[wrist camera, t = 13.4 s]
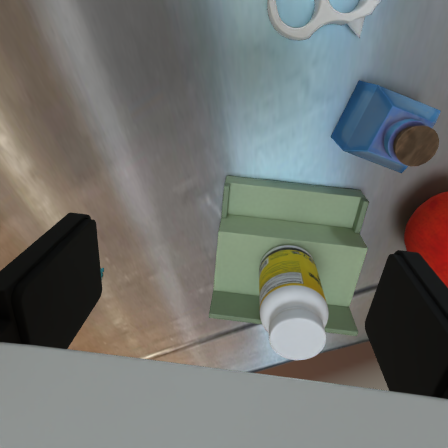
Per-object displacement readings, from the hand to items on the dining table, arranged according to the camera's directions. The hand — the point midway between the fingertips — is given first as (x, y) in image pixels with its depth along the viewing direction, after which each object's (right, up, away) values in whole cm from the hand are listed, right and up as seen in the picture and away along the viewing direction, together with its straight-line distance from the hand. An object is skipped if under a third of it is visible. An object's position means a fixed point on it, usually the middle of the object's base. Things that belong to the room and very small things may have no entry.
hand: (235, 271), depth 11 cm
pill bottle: (+7, -3, +27) cm, 28 cm away
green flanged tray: (+7, +1, +33) cm, 34 cm away
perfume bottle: (+16, +13, +26) cm, 33 cm away
